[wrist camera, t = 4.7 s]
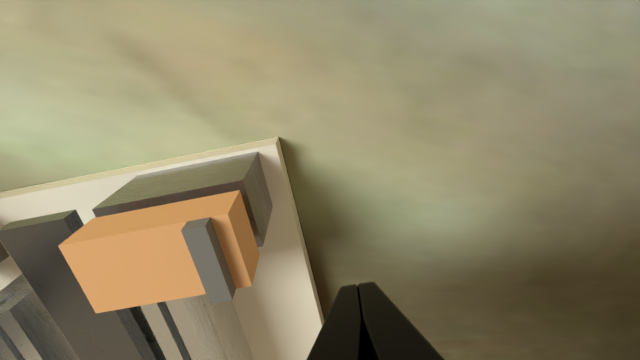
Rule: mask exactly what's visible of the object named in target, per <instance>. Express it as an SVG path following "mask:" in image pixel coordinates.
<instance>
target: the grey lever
mask: <svg viewBox="0 0 640 360" xmlns="http://www.w3.org/2000/svg"><path fill="white" fill-rule="evenodd" d="M82 226H84V224H83V222H82V220H81V218H80V216H79V215H78V213H77V211H76V209H75V210H70V211H65V212H60V213H55V214H49V215H44V216H39V217H34V218H29V219H24V220H19V221H13V222H10V223H8V224H7V225H5V226H4V227H2V228H0V240H1V241H2V243H3V244H4V246H5V247H6V249H7V250H8V252H9V253H10V255H11V256H12V258H13V260H14V261H15V263H16V264H17V266H18V267H19V269H20V270H21V272H22V273H23V275H24V276H25V278H26V279H27V281H28V282H29V284H30V285H31V287H32V288H33V290H34V291H35V293H36V294H37V296H38V297H39V299H40V300H41V302H42V303H43V305H44V306H45V308H46V309H47V311H48V312H49V314H50V315H51V317H52V318H53V320H54V321H55V323H56V324H57V326H58V327H59V329H60V330H61V332H62V333H63V335H64V336H65V338H66V339H67V341H68V342H69V344H70V345H71V347H72V348H73V350H74V351H75V353H76V354H77V356H78V357H79V359H80V360H157V359H156V357H155V355H154V353H153V351H152V350H151V348H150V346H149V344H148V342H147V340H146V339H145V337H144V335H143V333H142V331H141V329H140V327H139V326H138V324H137V322H136V320H135V318H134V316H133V314H132V313H131V311H130V309H129V308H124V309H119V310H113V311H107V312H102V313H95V311H94V309H93V307H92V306H91V304H90V302H89V300H88V298H87V297H86V295H85V293H84V291H83V290H82V288H81V286H80V284H79V282H78V281H77V279H76V277H75V275H74V274H73V272H72V270H71V268H70V266H69V265H68V263H67V261H66V259H65V258H64V256H63V254H62V252H61V250H60V249H59V247H58V245H60V244H61V243H62V242H64V241H65V240H66V239H67V238H69V237H70V236H71V235H72V234H74V233H75V232H76V231H77V230H79V229H80V228H81V227H82Z"/></svg>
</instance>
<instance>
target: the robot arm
mask: <svg viewBox="0 0 640 360" xmlns="http://www.w3.org/2000/svg"><path fill="white" fill-rule="evenodd" d="M306 360H444V358H443V357H442V356H441V355H440V354H439V353H438V352H437V351H436V350H435V348H434V347H433V346H432V345H431V344H430V343H429V342H428V341H427V340H426V339H425V337H424V336H423V335H422V334H421V333H420V332H419V331H418V330H417V329H416V327H415V326H414V325H413V324H412V323H411V322H410V321H409V320H408V319H407V317H406V316H405V315H404V314H403V313H402V312H401V311H400V310H399V309H398V308H397V306H396V305H395V304H394V303H393V302H392V301H391V300H390V299H389V298H388V296H387V295H386V294H385V293H384V292H383V291H382V290H381V289H380V288H379V287H378V285H377V284H376V283H375V282H366V283H360V284H359V285H358V286H357V285H356V284H353V285H347V286H342V287H341V288H340V290H339V292H338V294H337V296H336V298H335V300H334V302H333V305H332V307H331V309H330V311H329V313H328V315H327V317H326V319H325V321H324V324H323V326H322V328H321V330H320V332H319V334H318V336H317V338H316V340H315V343H314V345H313V347H312V349H311V351H310V353H309V355H308V357H307V359H306Z"/></svg>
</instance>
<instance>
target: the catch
mask: <svg viewBox="0 0 640 360" xmlns="http://www.w3.org/2000/svg"><path fill="white" fill-rule="evenodd" d="M58 247H59V249H60V250H61V252H62V254H63V256H64V258H65V259H66V261H67V263H68V265H69V266H70V268H71V270H72V272H73V274H74V275H75V277H76V279H77V281H78V282H79V284H80V286H81V288H82V290H83V291H84V293H85V295H86V297H87V298H88V300H89V302H90V304H91V306H92V307H93V309H94V311H95V313H102V312H107V311H113V310H119V309H124V308H130V307H136V306H141V305H147V304H153V303H158V302H164V301H170V300H175V299H181V298H187V297H192V296H198V295H204V294H206V295H207V297H208V300H209V302H210V304H213V303H219V302H225V301H230V300H233V296H234V293H235V290H236V289H237V288H243V287H249V286H252V283H253V279H254V276H255V272H256V268H257V264H258V260H259V256H260V254H259V251H258V247H257V244H256V241H255V238H254V234H253V231H252V228H251V225H250V222H249V218H248V215H247V212H246V209H245V206H244V202H243V199H242V196H241V193H240V190H237V191H232V192H227V193H222V194H216V195H211V196H206V197H201V198H196V199H190V200H185V201H180V202H175V203H170V204H164V205H159V206H154V207H149V208H144V209H138V210H133V211H128V212H123V213H118V214H113V215H107V216H102V217H97V218H93V219H91V220H90V221H89V222H88V223H86V224H85V225H84V226H82V227H81V228H80V229H79V230H77V231H76V232H75V233H74V234H72V235H71V236H70V237H69V238H67V239H66V240H65V241H64V242H62V243H61V244H60V245H58Z"/></svg>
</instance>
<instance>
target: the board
mask: <svg viewBox="0 0 640 360" xmlns="http://www.w3.org/2000/svg"><path fill="white" fill-rule="evenodd" d="M252 152H258V155H259V158H260V162H261V166H262V169H263V173H264V176H265V180H266V184H267V187H268V191H269V194H270V198H271V202H272V205H273V208H272V212H271V216H270V220H269V224H268V228H267V232H266V236H265V240H264V244H263V246H261V247H258V251H259V254H260V256H259V260H258V264H257V268H256V272H255V276H254V279H253V283H252V286H249V287H243V288H237V289H236V290H235V293H234V296H233V300H232V301H233V304H234V306H235V309H236V312H237V315H238V317H239V320H240V323H241V325H242V328H243V331H244V334H245V336H246V339H247V342H248V345H249V347H250V350H251V353H252V355H253V360H306V359H307V357H308V355H309V353H310V351H311V349H312V347H313V345H314V343H315V340H316V338H317V336H318V334H319V332H320V330H321V328H322V326H323V324H324V318H323V314H322V310H321V306H320V302H319V298H318V294H317V290H316V286H315V282H314V278H313V274H312V270H311V266H310V262H309V258H308V254H307V250H306V246H305V242H304V238H303V233H302V229H301V225H300V221H299V217H298V213H297V209H296V205H295V201H294V197H293V193H292V189H291V185H290V181H289V177H288V173H287V169H286V165H285V161H284V157H283V153H282V149H281V145H280V141H279V137H274V138H269V139H264V140H259V141H254V142H249V143H244V144H239V145H234V146H229V147H224V148H219V149H214V150H209V151H204V152H199V153H194V154H189V155H184V156H179V157H174V158H169V159H164V160H159V161H154V162H149V163H144V164H139V165H134V166H129V167H124V168H119V169H114V170H109V171H104V172H99V173H94V174H89V175H84V176H79V177H74V178H69V179H64V180H59V181H54V182H49V183H44V184H39V185H34V186H29V187H24V188H19V189H14V190H9V191H4V192H0V228H2V227H4V226H5V225H7V224H8V223H10V222H13V221H19V220H24V219H29V218H34V217H39V216H44V215H49V214H55V213H60V212H65V211H70V210H75V209H76V211H77V213H78V215H79V216H80V218H81V220H82V222H83V224H84V225H85V224H86V223H88V222H89V221H90V220H91V219H93V218H96V217H95V215H94V213H93V211H92V209H93V208H94V207H96V206H97V205H98V204H100V203H101V202H102V201H104V200H105V199H106V198H108V197H109V196H110V195H112V194H113V193H114V192H116V191H117V190H118V189H120V188H121V187H122V186H124V185H125V184H126V183H128V182H129V181H130V180H132V179H133V178H134V177H136V176H137V175H141V174H147V173H152V172H157V171H162V170H167V169H172V168H177V167H182V166H187V165H192V164H197V163H202V162H207V161H212V160H217V159H222V158H227V157H232V156H237V155H242V154H247V153H252ZM0 242H1V243H2V241H1V240H0ZM2 245H3V246H4V244H3V243H2ZM4 248H5V250H6V251H7V253H8V254H9V257H8V258H6V259H5V260H3V261H2V262H0V291H1V290H2V289H3V288H5V287H6V286H7V285H8V284H10V283H11V282H12V281H13V280H15V279H16V278H17V277H19V276H20V275H21V274H22V272H21V270H20V269H19V267H18V266H17V264H16V263H15V261H14V260H13V258H12V256H11V255H10V253H9V252H8V250H7V249H6V247H5V246H4Z"/></svg>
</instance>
